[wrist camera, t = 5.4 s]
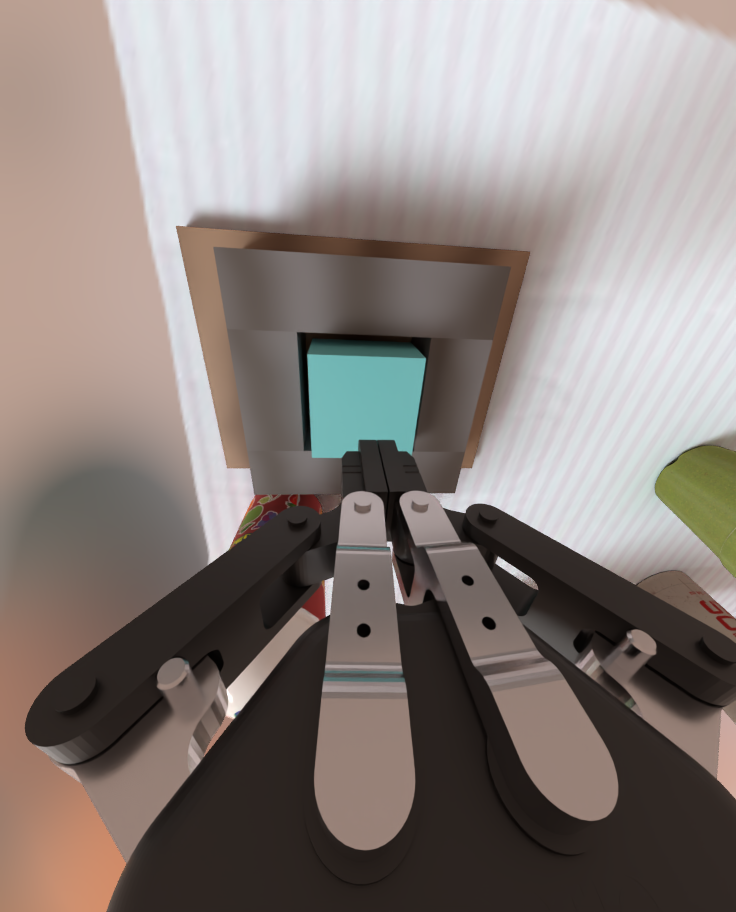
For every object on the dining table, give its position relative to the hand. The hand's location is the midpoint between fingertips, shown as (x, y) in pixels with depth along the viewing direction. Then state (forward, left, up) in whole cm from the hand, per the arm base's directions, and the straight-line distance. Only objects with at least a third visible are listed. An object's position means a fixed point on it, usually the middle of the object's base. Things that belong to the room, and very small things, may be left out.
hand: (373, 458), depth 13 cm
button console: (0, 0, -13) cm, 13 cm away
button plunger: (0, 0, -9) cm, 9 cm away
